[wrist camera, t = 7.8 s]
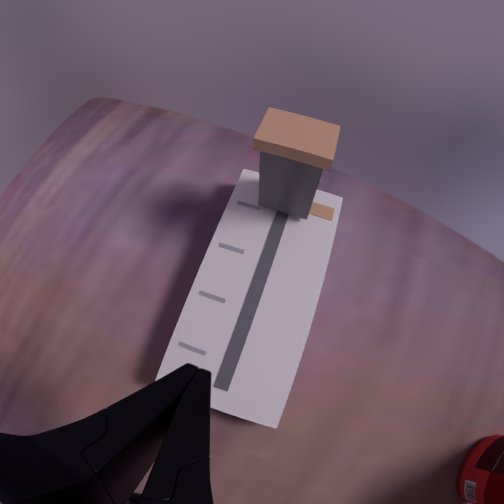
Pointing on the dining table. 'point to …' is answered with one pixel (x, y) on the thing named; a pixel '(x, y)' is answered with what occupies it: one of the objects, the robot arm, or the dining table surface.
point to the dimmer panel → (255, 302)
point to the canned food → (483, 472)
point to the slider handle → (292, 159)
